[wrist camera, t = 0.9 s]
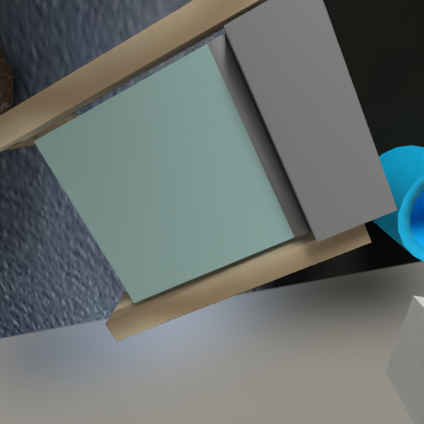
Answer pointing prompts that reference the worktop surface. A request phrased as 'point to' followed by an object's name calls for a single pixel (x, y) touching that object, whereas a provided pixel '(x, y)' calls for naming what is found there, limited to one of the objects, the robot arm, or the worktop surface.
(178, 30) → the frame
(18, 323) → the worktop surface
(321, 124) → the trapdoor
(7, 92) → the rock
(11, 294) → the worktop surface
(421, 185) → the mug
